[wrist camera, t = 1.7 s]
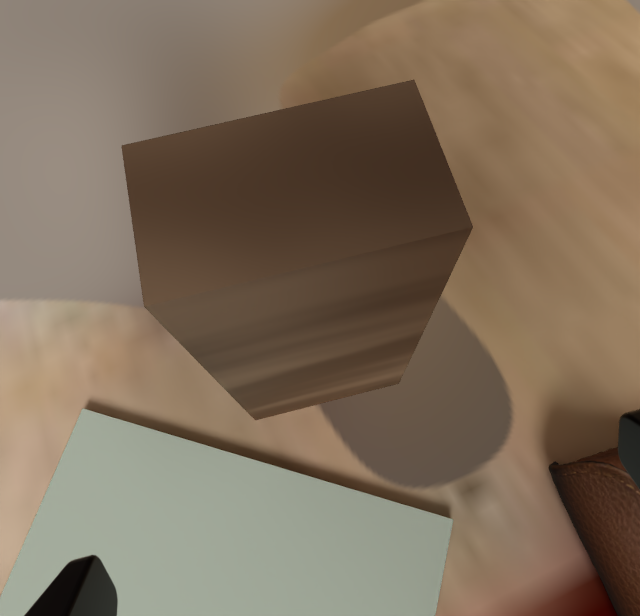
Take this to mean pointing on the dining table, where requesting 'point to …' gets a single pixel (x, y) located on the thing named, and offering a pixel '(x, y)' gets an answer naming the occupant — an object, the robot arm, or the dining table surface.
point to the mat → (223, 533)
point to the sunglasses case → (605, 522)
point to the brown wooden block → (299, 244)
